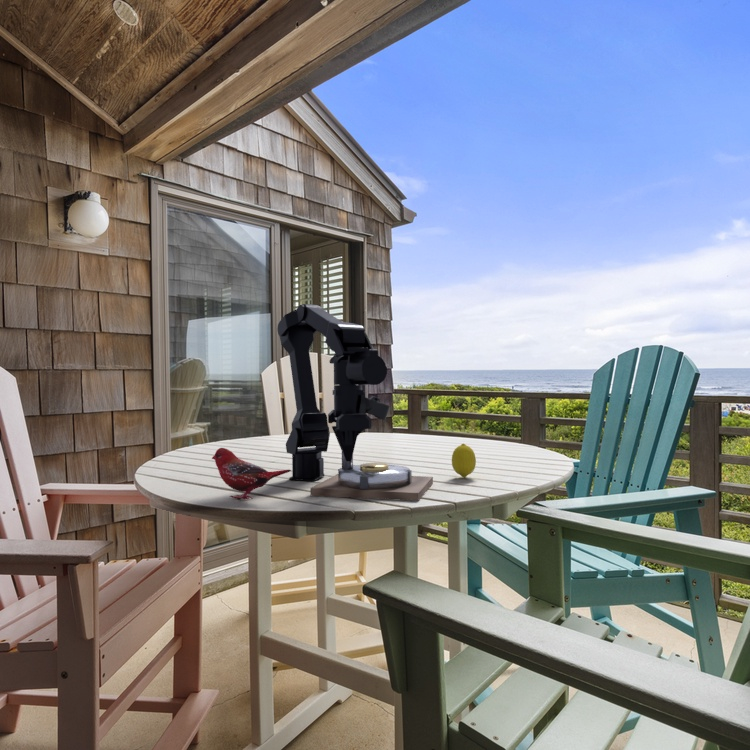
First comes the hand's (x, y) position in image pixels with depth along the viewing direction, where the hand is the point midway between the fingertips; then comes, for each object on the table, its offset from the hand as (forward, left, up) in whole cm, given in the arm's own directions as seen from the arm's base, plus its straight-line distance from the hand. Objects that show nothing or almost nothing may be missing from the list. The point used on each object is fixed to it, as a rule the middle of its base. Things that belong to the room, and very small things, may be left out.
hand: (348, 461), depth 105 cm
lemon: (+21, +21, -7) cm, 30 cm away
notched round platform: (+4, +4, -5) cm, 8 cm away
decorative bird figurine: (-17, -10, -7) cm, 21 cm away
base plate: (+4, +4, -6) cm, 9 cm away
